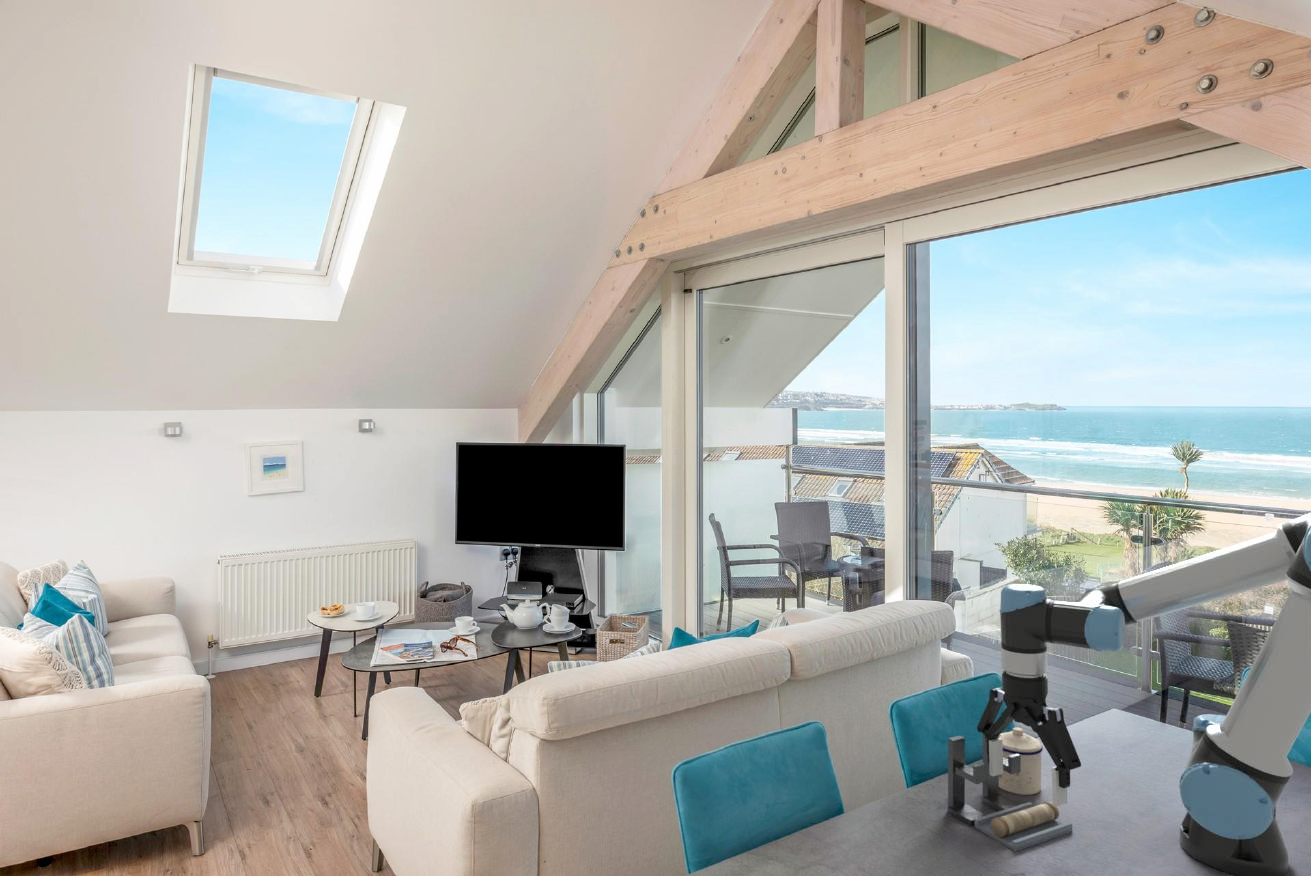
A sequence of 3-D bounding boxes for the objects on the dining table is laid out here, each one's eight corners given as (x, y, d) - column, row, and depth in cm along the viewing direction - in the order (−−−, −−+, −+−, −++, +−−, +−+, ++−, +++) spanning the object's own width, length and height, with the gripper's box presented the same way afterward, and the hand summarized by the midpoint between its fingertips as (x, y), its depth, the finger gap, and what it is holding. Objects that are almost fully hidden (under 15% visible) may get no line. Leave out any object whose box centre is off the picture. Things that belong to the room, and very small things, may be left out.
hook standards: (1023, 811, 154) (1023, 738, 153) (972, 827, 148) (973, 751, 148) (995, 796, 160) (995, 726, 159) (946, 811, 154) (946, 738, 154)
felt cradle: (1072, 831, 146) (1072, 823, 146) (1015, 851, 140) (1015, 842, 140) (1029, 809, 154) (1030, 801, 154) (974, 827, 148) (974, 819, 148)
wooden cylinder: (1044, 814, 151) (1044, 798, 151) (1059, 822, 148) (1059, 805, 148) (990, 832, 145) (990, 815, 145) (1004, 840, 142) (1004, 823, 142)
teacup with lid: (1021, 773, 170) (1022, 718, 169) (1052, 793, 161) (1053, 735, 160) (971, 779, 167) (971, 724, 166) (1000, 800, 158) (1000, 741, 158)
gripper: (1102, 687, 137) (1105, 812, 137) (984, 651, 159) (986, 759, 159) (1072, 695, 133) (1074, 823, 134) (955, 657, 156) (958, 767, 156)
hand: (1026, 788), depth 147 cm, fingers open, 13 cm apart
